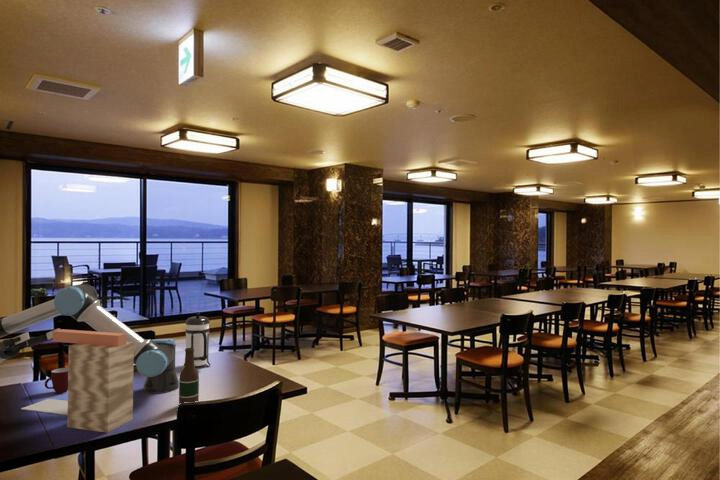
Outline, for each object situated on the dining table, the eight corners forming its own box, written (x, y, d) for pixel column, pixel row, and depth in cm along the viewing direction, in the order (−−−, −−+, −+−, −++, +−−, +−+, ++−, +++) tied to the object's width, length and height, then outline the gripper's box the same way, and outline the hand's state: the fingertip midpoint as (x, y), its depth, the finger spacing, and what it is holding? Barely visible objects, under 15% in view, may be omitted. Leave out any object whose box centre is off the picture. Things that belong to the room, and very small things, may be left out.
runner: (105, 406, 184) (105, 405, 184) (81, 417, 173) (81, 416, 173) (48, 399, 191) (48, 398, 191) (20, 409, 180) (20, 408, 180)
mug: (49, 398, 193) (49, 375, 193) (41, 394, 198) (41, 372, 198) (75, 391, 202) (75, 369, 202) (67, 388, 207) (67, 366, 207)
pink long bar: (126, 344, 167) (126, 333, 167) (117, 346, 163) (118, 335, 163) (61, 339, 174) (62, 329, 174) (52, 341, 170) (52, 331, 170)
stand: (132, 419, 170) (133, 342, 171) (107, 432, 159) (109, 349, 159) (94, 415, 175) (95, 339, 175) (67, 427, 163) (68, 345, 163)
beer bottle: (186, 410, 181) (187, 351, 181) (174, 406, 185) (175, 348, 185) (202, 404, 188) (203, 347, 188) (190, 400, 192) (191, 345, 192)
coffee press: (175, 369, 238) (176, 314, 239) (191, 362, 254) (192, 309, 255) (205, 371, 236) (206, 315, 236) (219, 363, 251) (220, 311, 252)
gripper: (35, 354, 192) (73, 338, 188) (-27, 365, 168) (15, 347, 164) (31, 337, 193) (69, 321, 189) (-31, 346, 169) (11, 327, 165)
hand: (44, 333), depth 176 cm, fingers open, 13 cm apart
